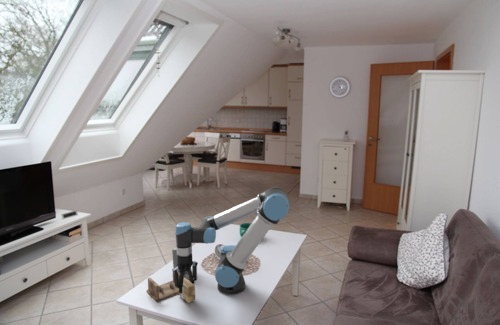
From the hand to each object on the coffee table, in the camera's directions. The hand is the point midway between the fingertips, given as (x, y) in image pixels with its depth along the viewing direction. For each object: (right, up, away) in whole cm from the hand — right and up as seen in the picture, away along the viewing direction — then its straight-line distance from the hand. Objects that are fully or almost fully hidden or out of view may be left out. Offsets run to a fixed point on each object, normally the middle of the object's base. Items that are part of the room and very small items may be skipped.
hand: (186, 296), depth 172 cm
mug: (+30, +12, +77) cm, 83 cm away
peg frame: (-12, 0, +7) cm, 14 cm away
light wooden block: (0, 0, 0) cm, 0 cm away
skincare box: (-9, +3, +27) cm, 29 cm away
